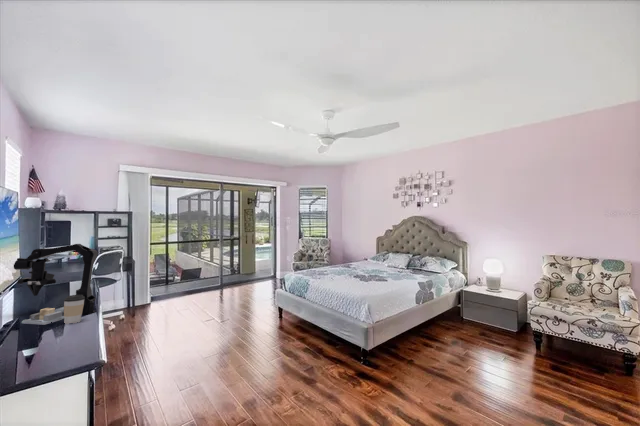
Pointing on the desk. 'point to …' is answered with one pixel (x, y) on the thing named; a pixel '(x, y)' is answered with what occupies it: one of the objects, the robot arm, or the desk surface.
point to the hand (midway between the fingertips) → (35, 295)
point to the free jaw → (35, 316)
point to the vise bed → (46, 319)
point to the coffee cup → (73, 308)
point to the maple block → (45, 312)
